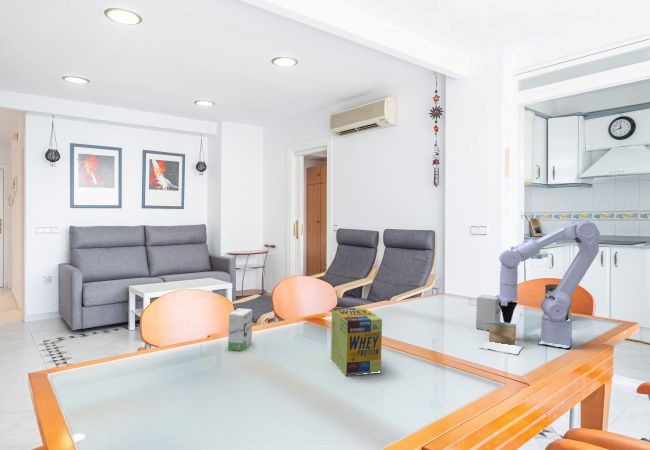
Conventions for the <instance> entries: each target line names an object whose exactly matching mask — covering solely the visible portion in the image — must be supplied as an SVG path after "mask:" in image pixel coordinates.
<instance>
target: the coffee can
mask: <svg viewBox="0 0 650 450" xmlns="http://www.w3.org/2000/svg"><path fill="white" fill-rule="evenodd" d="M557 286H558V284H554V283H553V284H545V285H544V287H545V290H544V291H545V293H544V299H545V298H547V297H548V296H549V295H550V293H551V292H552V291H554V290H555V289H556V288H557ZM572 299H573V295H572V296H571V298H570V305H569V307H568V312H567V316H566V317H565V320H568V319H572Z"/></svg>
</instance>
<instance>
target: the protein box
mask: <svg viewBox="0 0 650 450" xmlns="http://www.w3.org/2000/svg"><path fill="white" fill-rule="evenodd" d="M382 330H383V319H382V318H381V317H380V316H379V315H376V314H375V313H374V312H372V311H370V310H368V309H367V308H365V307H334V308H331V335H330V337H331V339H330V342H331V343H330V348H331V349H330V359H331V360H333V363H334V364H335V365H336V366H337V367H338V368H339V369H340V371H341V370H342V371H341V372H342V373H343V375H346V376H345V377H349V376H348V375H355V376H357V375H356V374H363V373H371V372H378V371H381V372H382V337H383V335H382V334H383V333H382V332H383V331H382Z"/></svg>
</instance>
